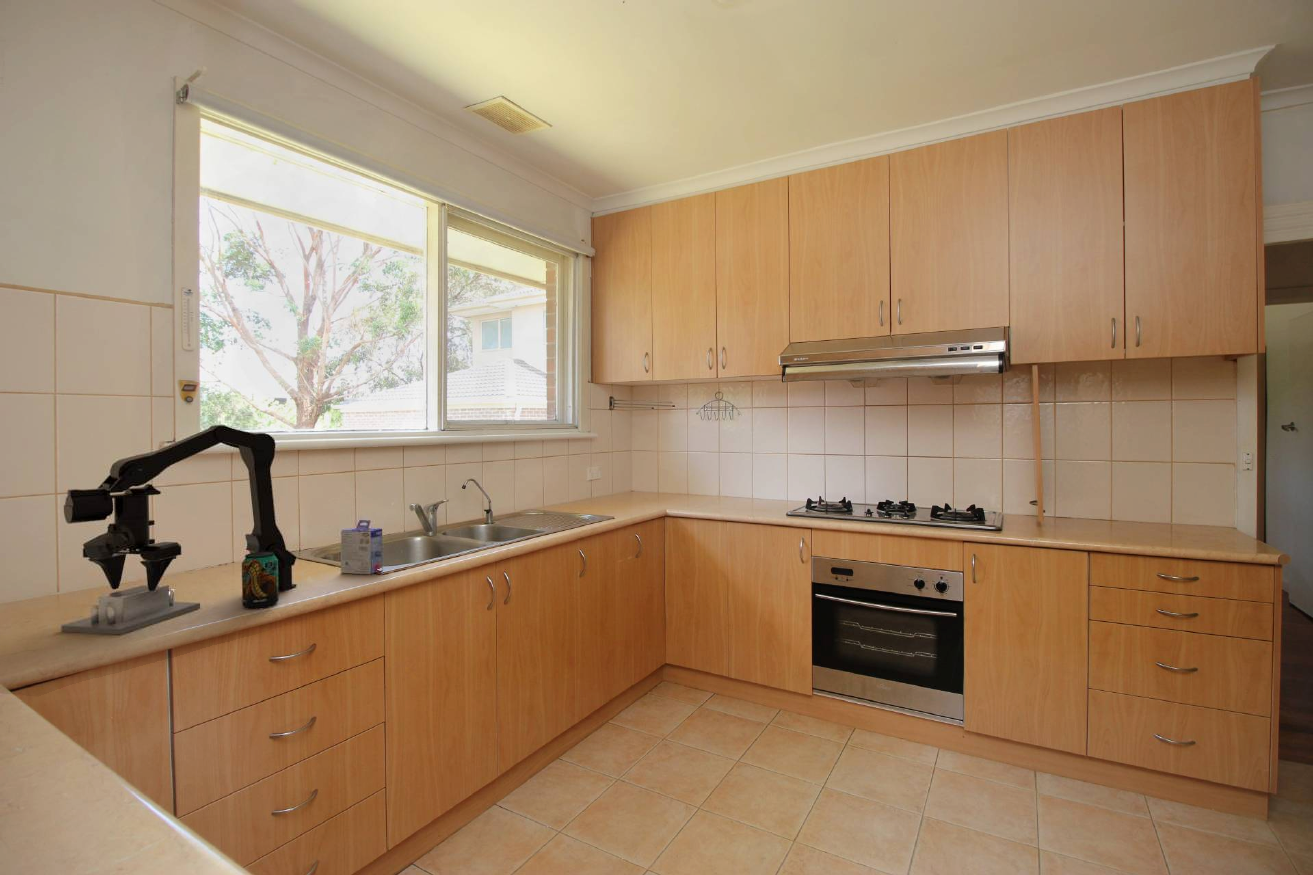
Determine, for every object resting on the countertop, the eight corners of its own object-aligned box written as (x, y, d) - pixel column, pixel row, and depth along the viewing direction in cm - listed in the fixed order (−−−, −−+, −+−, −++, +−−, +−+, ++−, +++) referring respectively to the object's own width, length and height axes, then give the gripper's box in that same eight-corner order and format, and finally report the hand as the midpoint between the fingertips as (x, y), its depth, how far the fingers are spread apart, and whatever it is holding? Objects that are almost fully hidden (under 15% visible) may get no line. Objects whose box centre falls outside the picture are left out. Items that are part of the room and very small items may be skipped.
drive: (169, 607, 138) (168, 584, 138) (123, 621, 128) (122, 597, 128) (146, 606, 139) (146, 583, 139) (99, 620, 129) (98, 595, 129)
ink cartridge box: (384, 570, 177) (383, 520, 177) (371, 575, 172) (370, 523, 171) (353, 568, 179) (352, 519, 179) (340, 573, 174) (339, 522, 173)
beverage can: (240, 611, 139) (239, 558, 138) (244, 603, 145) (243, 552, 144) (277, 607, 142) (276, 555, 141) (279, 599, 148) (278, 549, 148)
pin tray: (200, 608, 141) (199, 587, 141) (120, 634, 123) (119, 611, 123) (147, 605, 143) (147, 585, 143) (61, 631, 126) (60, 608, 126)
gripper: (53, 522, 126) (55, 598, 127) (131, 524, 123) (133, 602, 124) (109, 514, 137) (111, 584, 138) (182, 516, 134) (184, 587, 135)
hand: (133, 589), depth 133 cm, fingers open, 9 cm apart
